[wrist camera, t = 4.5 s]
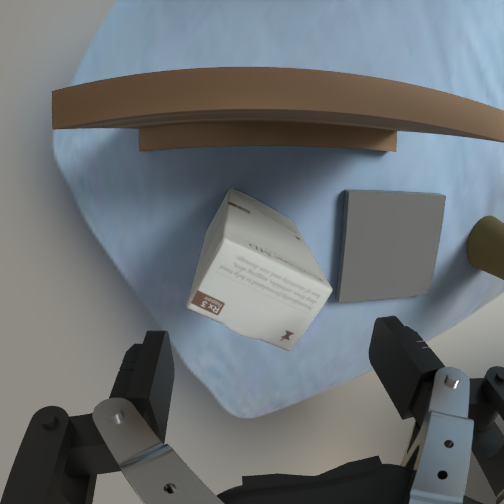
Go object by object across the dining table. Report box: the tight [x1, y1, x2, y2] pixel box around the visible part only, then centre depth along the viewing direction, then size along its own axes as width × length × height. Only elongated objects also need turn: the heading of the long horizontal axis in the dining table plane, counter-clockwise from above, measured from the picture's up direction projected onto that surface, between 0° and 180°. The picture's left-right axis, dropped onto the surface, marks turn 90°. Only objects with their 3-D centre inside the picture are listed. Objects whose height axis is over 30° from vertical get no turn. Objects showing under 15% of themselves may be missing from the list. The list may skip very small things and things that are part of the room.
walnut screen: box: [52, 67, 504, 152], centre depth 16 cm, size 5×20×14 cm, turn 90°
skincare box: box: [187, 188, 332, 351], centre depth 20 cm, size 6×4×12 cm
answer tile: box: [336, 190, 446, 303], centre depth 27 cm, size 10×10×1 cm
